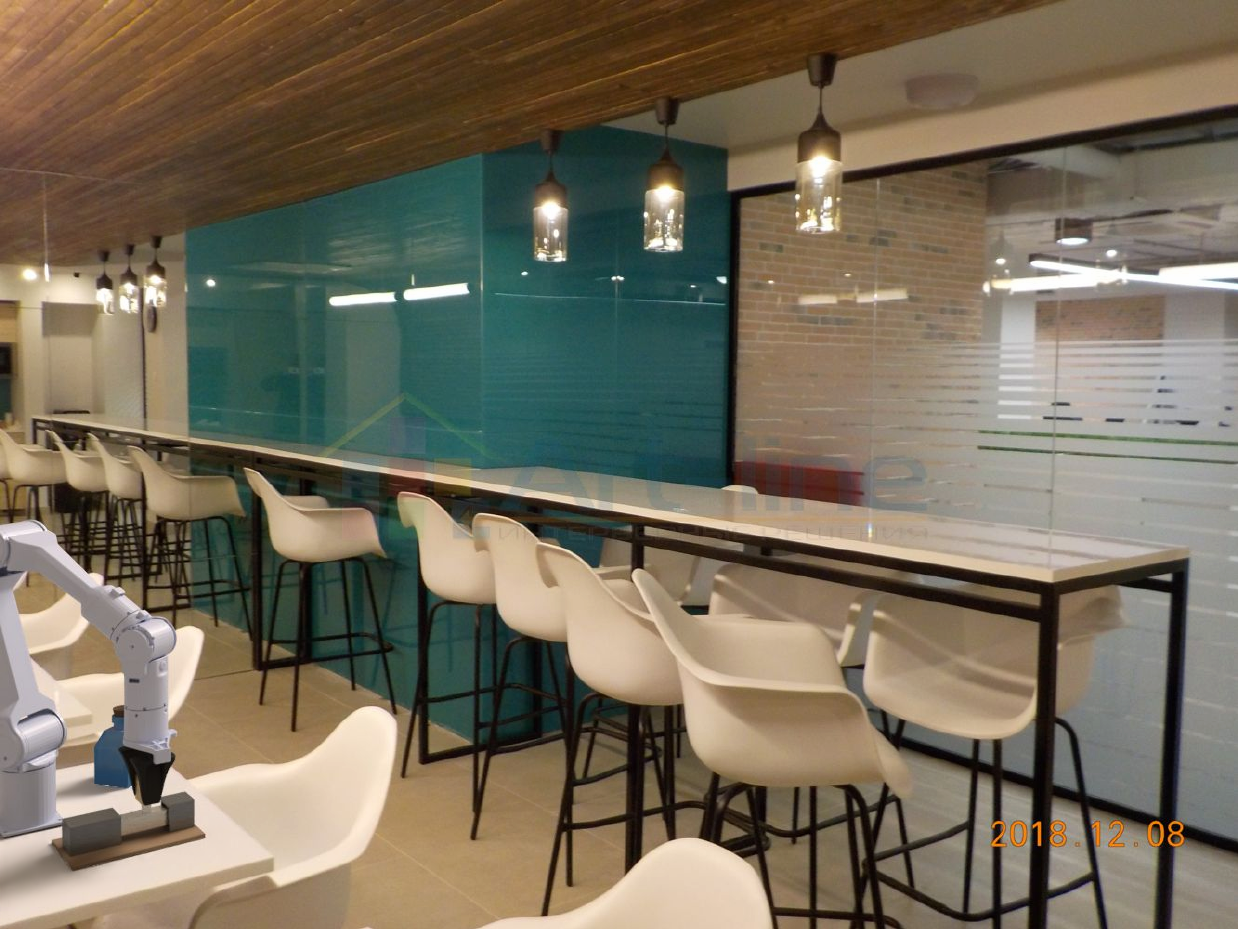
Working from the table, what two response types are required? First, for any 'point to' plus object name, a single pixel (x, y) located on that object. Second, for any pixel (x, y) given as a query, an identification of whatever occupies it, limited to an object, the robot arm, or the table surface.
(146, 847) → the walnut board
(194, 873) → the table surface
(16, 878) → the table surface
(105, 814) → the sleeve and socket
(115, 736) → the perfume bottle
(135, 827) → the pale bar
